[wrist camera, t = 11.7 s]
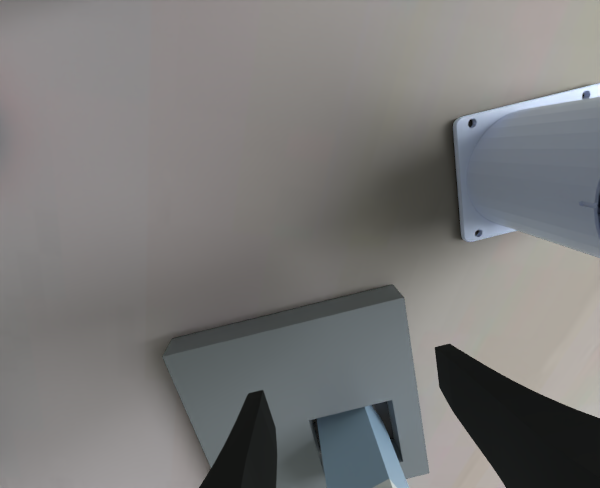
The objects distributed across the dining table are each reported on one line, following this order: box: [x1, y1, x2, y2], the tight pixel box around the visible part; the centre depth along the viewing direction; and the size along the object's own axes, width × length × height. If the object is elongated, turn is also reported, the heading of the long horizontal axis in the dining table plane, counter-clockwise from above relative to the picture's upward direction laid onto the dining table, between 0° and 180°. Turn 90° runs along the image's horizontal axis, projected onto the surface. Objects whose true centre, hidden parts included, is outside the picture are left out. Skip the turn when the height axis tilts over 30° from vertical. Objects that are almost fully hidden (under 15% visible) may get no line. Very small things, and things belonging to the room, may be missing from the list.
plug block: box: [317, 405, 409, 488], centre depth 21 cm, size 4×4×8 cm
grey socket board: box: [162, 285, 429, 488], centre depth 23 cm, size 16×16×2 cm
